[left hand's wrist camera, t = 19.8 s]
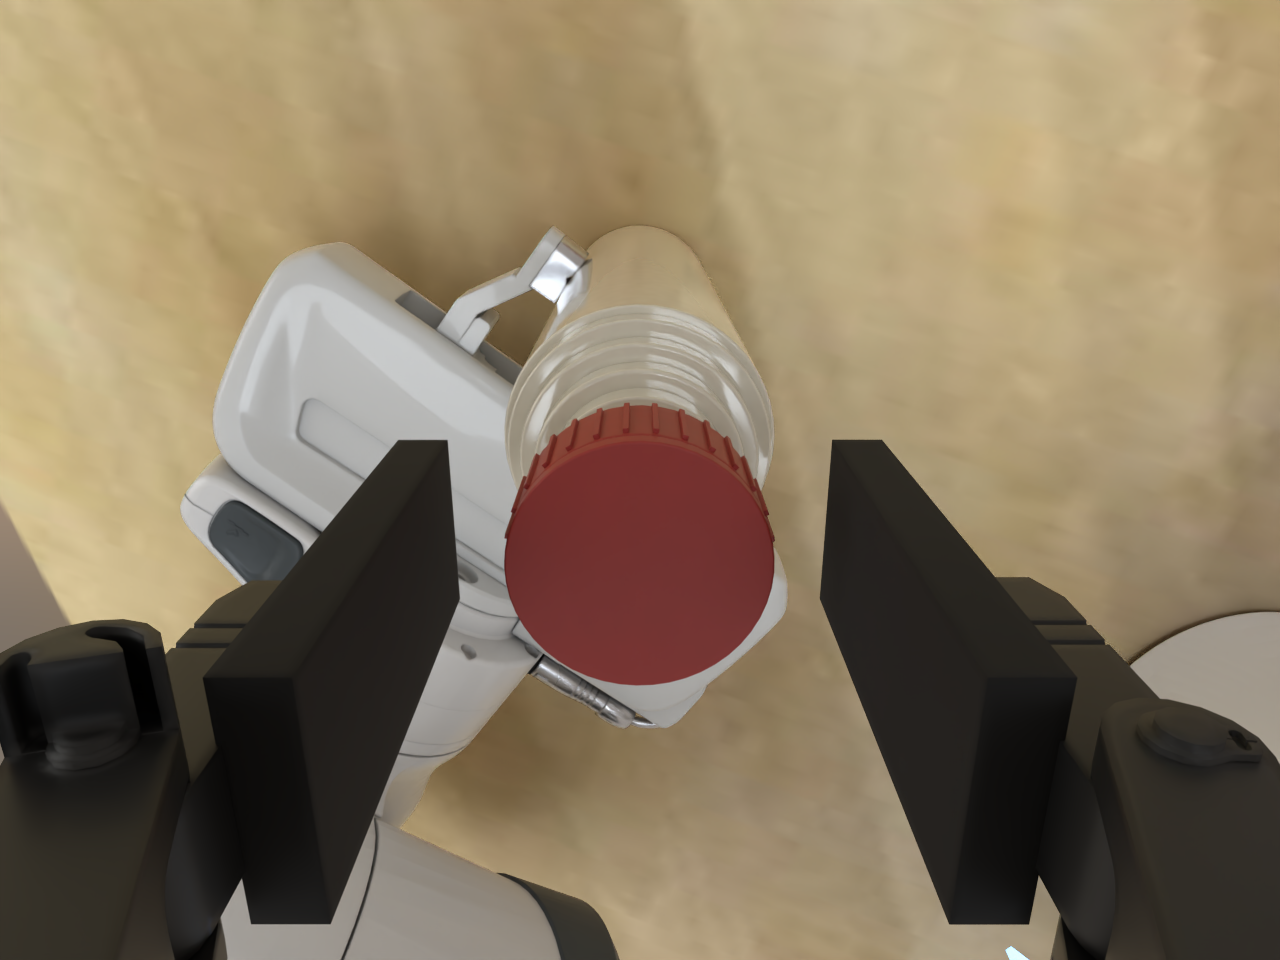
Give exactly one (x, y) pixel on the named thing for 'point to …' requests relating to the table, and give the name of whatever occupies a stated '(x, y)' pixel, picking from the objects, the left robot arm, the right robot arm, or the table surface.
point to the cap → (639, 546)
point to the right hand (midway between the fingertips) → (654, 303)
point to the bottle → (639, 351)
